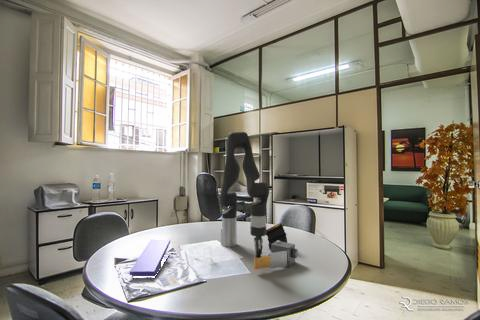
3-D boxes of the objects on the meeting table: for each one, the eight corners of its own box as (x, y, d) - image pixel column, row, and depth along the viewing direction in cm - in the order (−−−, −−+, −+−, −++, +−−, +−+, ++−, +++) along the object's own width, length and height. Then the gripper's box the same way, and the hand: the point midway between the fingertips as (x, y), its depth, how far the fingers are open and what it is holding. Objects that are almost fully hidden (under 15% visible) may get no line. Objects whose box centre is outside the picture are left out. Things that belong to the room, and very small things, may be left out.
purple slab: (171, 255, 130) (171, 238, 131) (155, 279, 102) (156, 257, 103) (150, 256, 130) (150, 238, 130) (129, 280, 102) (129, 257, 102)
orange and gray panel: (288, 265, 114) (288, 249, 114) (290, 266, 113) (289, 249, 113) (254, 272, 107) (253, 254, 107) (255, 273, 106) (254, 255, 106)
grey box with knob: (271, 261, 120) (270, 242, 120) (277, 257, 125) (277, 239, 126) (293, 267, 112) (293, 247, 113) (299, 263, 118) (299, 243, 118)
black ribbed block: (293, 246, 137) (282, 223, 138) (273, 256, 137) (262, 233, 137) (291, 244, 141) (280, 222, 142) (272, 254, 141) (261, 232, 141)
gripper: (249, 221, 117) (249, 256, 117) (251, 228, 104) (251, 267, 104) (264, 221, 118) (264, 255, 117) (268, 228, 104) (268, 267, 104)
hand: (258, 261), depth 110 cm, fingers closed
